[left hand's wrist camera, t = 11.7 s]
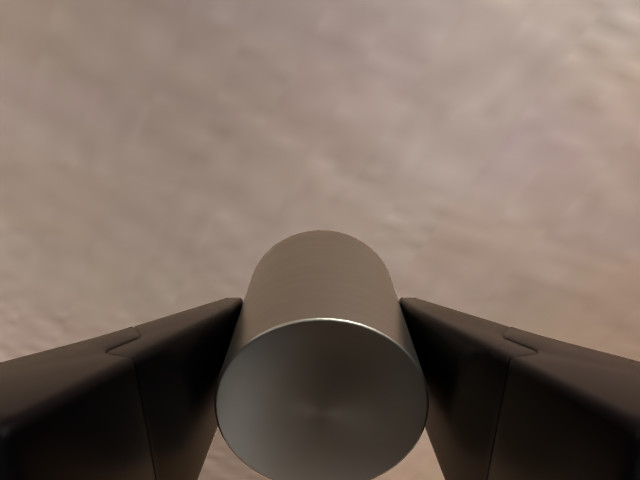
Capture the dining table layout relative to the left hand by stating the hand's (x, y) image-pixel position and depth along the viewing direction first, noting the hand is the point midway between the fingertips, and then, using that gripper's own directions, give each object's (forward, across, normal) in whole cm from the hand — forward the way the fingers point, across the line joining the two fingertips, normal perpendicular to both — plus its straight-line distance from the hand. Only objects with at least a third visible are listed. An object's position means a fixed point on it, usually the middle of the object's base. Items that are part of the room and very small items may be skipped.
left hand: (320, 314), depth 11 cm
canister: (+1, 0, 0) cm, 1 cm away
